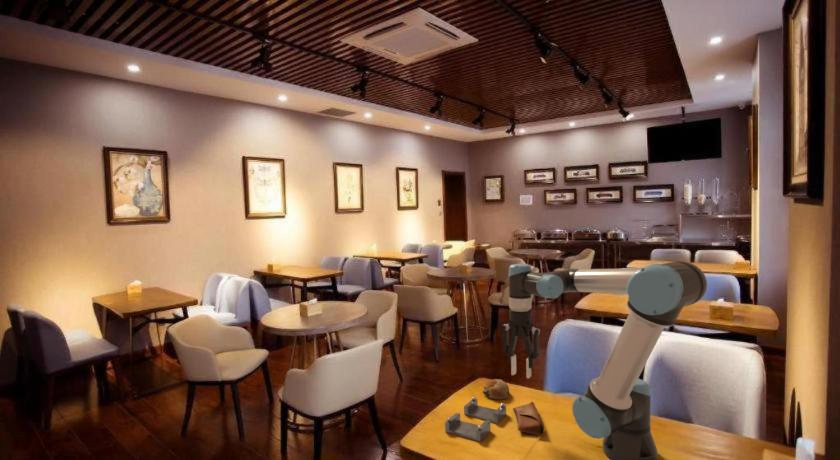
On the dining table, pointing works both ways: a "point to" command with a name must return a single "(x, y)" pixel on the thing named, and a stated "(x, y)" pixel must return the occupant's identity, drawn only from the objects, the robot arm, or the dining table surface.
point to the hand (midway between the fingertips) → (521, 375)
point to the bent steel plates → (472, 430)
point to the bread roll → (496, 389)
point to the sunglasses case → (528, 419)
